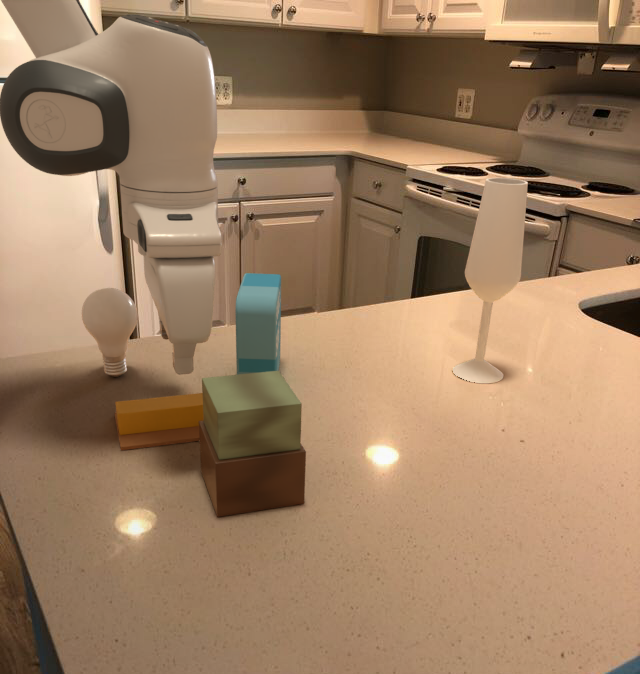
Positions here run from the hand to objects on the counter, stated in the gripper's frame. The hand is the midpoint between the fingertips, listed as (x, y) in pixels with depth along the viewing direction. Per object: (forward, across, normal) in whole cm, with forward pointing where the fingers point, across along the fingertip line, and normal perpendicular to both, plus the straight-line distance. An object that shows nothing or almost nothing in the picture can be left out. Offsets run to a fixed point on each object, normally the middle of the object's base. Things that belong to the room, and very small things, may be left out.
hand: (175, 353), depth 73 cm
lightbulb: (+9, -15, -5) cm, 18 cm away
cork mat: (+8, 0, +1) cm, 8 cm away
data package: (+8, -10, +12) cm, 17 cm away
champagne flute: (+8, -5, +40) cm, 41 cm away
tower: (+8, +14, +5) cm, 17 cm away
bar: (+8, 0, +1) cm, 8 cm away
